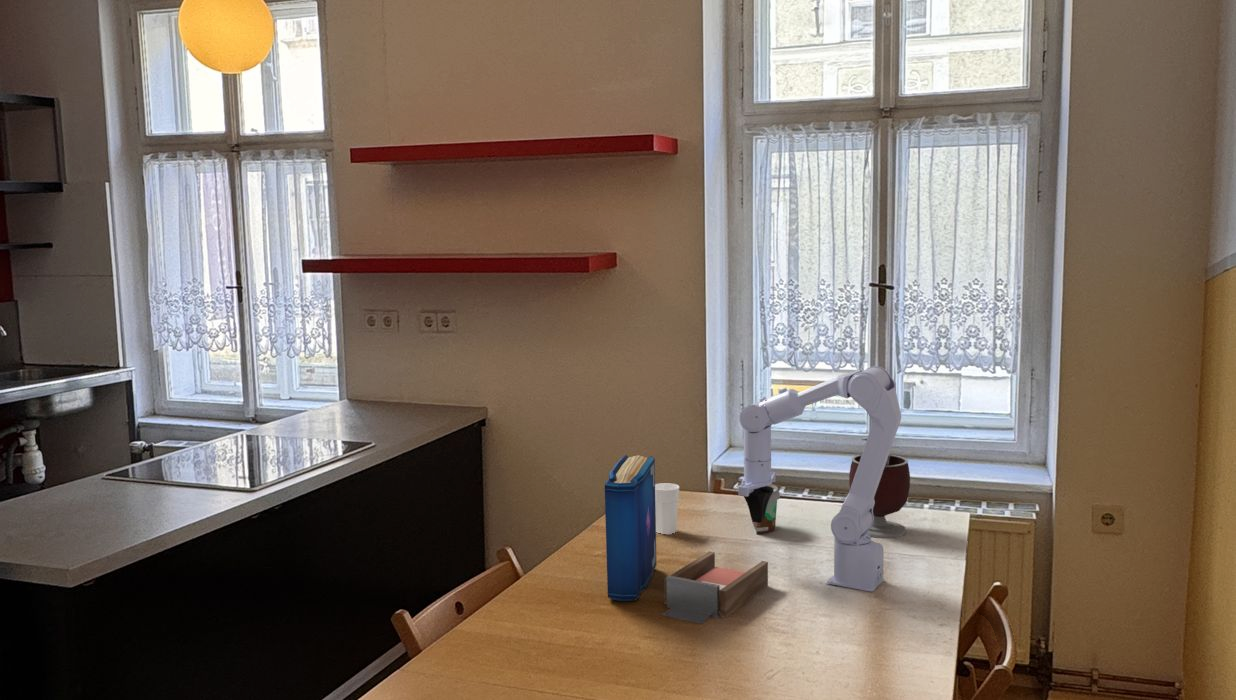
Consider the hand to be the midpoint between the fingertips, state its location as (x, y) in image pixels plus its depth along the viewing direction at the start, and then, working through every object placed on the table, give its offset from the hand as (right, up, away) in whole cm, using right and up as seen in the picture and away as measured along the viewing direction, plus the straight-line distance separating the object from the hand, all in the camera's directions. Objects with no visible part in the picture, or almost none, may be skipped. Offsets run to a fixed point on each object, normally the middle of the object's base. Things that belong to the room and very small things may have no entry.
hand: (757, 521), depth 211 cm
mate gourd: (+32, -7, +24) cm, 41 cm away
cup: (-18, -7, +27) cm, 33 cm away
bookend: (-17, -13, -25) cm, 33 cm away
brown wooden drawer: (-10, -12, -15) cm, 21 cm away
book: (-27, -12, -9) cm, 31 cm away
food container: (+6, -7, +28) cm, 29 cm away
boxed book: (-10, -13, -15) cm, 22 cm away
